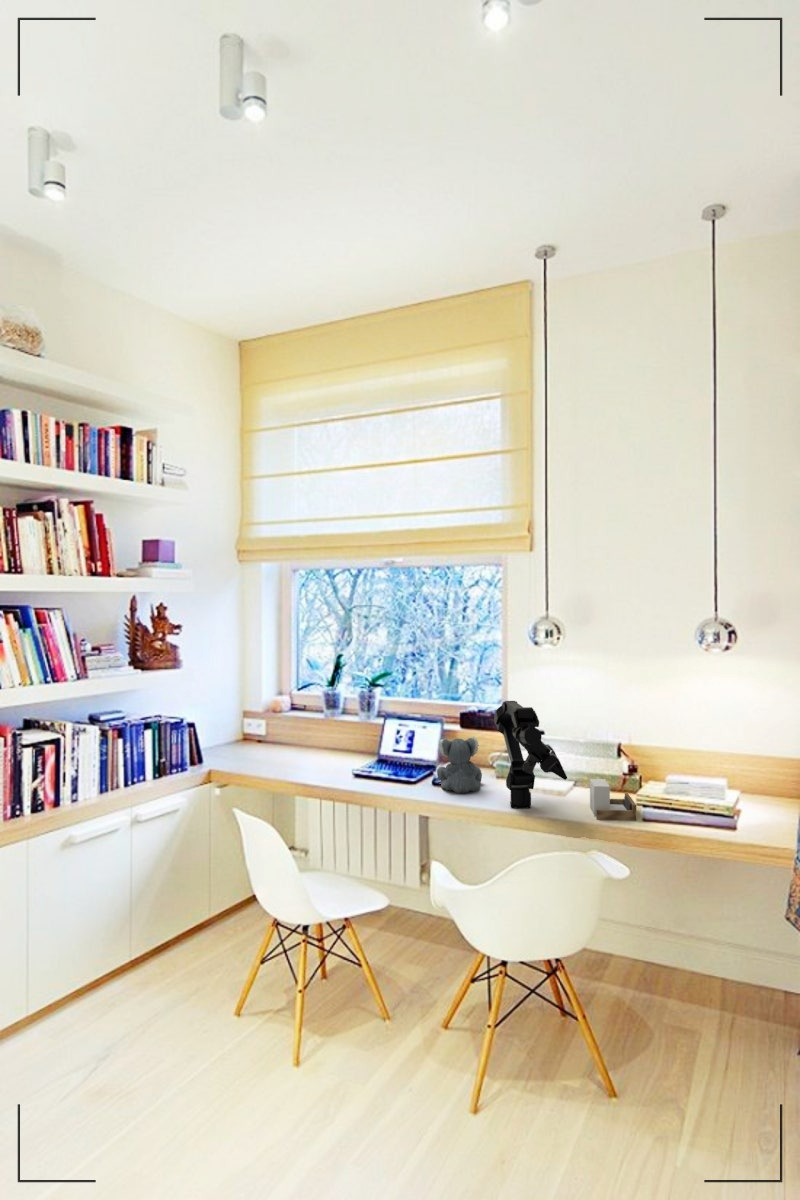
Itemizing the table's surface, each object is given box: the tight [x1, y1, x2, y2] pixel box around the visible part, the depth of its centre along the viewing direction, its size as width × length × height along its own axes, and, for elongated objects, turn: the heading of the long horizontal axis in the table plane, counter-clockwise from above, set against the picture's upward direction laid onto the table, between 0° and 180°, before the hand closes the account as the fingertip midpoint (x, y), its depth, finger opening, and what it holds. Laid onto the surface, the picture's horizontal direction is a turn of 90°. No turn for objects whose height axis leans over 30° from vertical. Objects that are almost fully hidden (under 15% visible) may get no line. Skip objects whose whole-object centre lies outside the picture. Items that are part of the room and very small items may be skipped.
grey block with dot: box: [589, 778, 626, 817], centre depth 254 cm, size 11×10×10 cm
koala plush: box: [436, 736, 483, 794], centre depth 287 cm, size 17×18×20 cm
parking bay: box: [596, 792, 637, 821], centre depth 253 cm, size 12×14×5 cm
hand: (564, 775), depth 254 cm, fingers open, 9 cm apart
